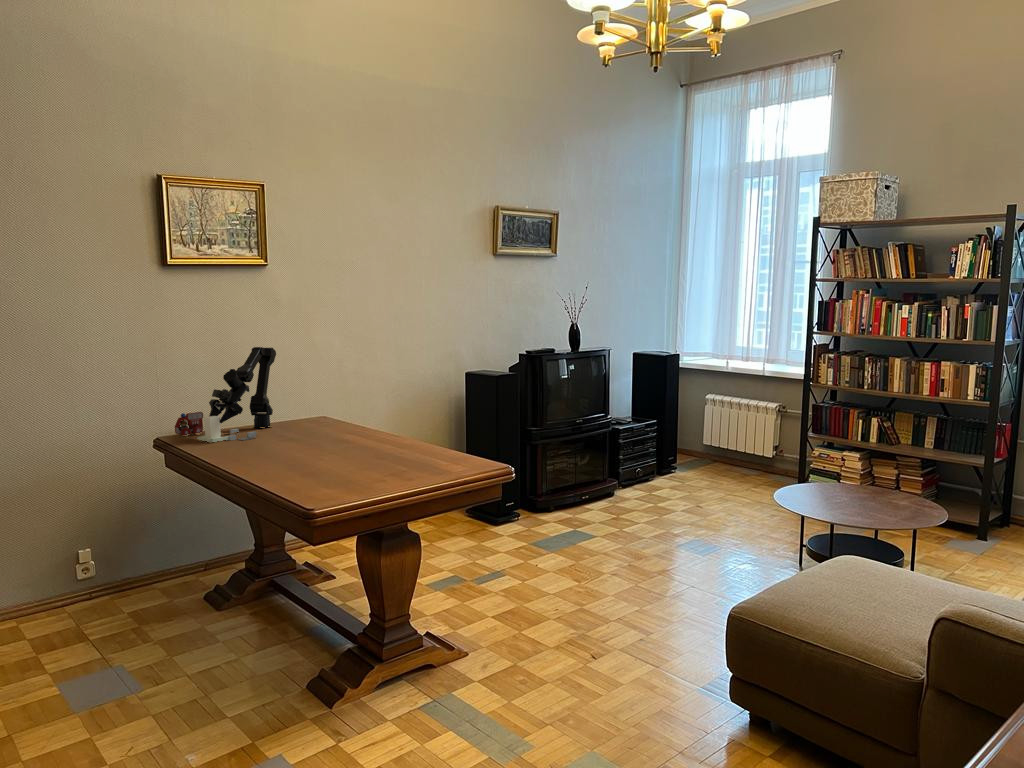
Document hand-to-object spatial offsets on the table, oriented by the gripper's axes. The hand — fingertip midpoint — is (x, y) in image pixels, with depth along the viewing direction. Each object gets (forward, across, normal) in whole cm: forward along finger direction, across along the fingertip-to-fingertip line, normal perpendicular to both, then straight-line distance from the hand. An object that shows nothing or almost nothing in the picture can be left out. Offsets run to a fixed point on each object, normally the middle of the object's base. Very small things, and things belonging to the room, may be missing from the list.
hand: (214, 421), depth 328 cm
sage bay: (+7, 0, +5) cm, 8 cm away
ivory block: (+6, 0, +5) cm, 8 cm away
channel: (0, 0, +12) cm, 12 cm away
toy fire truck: (+6, -22, +6) cm, 23 cm away
